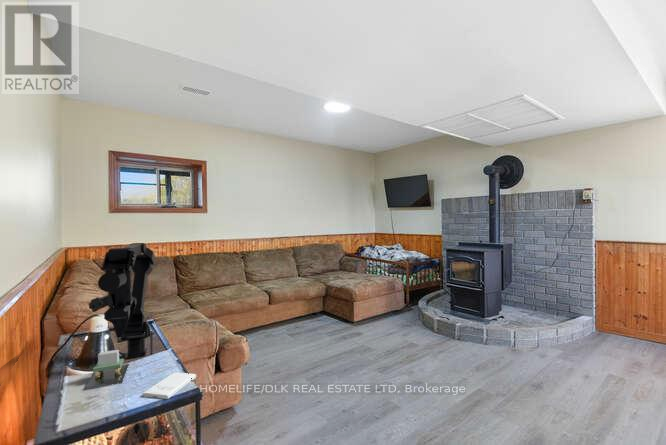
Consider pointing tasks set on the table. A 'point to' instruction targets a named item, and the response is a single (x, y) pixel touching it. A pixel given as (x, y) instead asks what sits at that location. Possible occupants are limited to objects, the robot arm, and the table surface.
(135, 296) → the robot arm
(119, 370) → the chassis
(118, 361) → the green u-channel holder
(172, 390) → the external hard drive
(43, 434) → the table surface
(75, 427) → the table surface
